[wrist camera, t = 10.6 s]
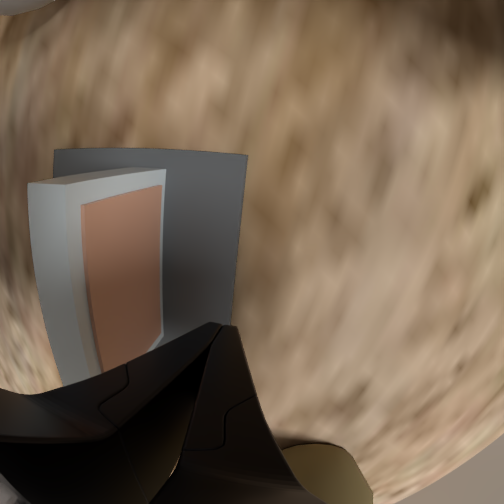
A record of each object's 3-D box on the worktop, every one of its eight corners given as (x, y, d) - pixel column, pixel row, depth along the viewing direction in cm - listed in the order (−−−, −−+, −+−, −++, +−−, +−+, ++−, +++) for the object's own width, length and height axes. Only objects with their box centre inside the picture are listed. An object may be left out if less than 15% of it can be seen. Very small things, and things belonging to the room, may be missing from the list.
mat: (248, 155, 11) (246, 155, 11) (222, 412, 16) (221, 417, 15) (59, 149, 12) (54, 149, 12) (82, 367, 17) (79, 371, 17)
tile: (166, 336, 14) (106, 420, 8) (135, 328, 14) (69, 403, 9) (169, 169, 12) (69, 185, 6) (133, 167, 12) (27, 183, 6)
